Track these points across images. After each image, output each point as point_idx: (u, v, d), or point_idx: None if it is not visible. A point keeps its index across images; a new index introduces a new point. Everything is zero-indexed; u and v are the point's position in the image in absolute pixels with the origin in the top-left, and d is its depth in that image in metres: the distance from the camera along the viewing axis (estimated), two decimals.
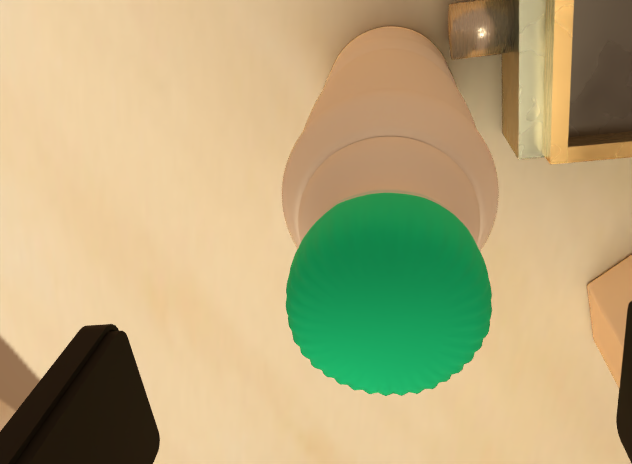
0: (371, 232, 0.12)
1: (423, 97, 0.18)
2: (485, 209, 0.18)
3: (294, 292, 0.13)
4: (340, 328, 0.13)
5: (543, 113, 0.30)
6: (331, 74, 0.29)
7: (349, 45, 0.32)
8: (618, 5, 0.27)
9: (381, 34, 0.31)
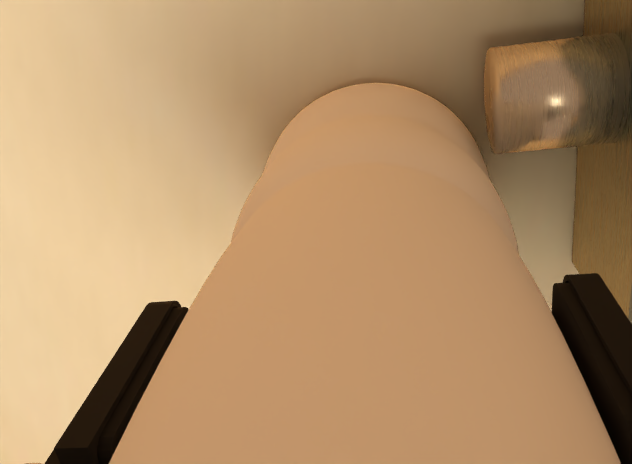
0: None
1: None
2: None
3: None
4: None
5: None
6: (247, 206, 0.14)
7: (297, 122, 0.17)
8: None
9: (356, 107, 0.16)
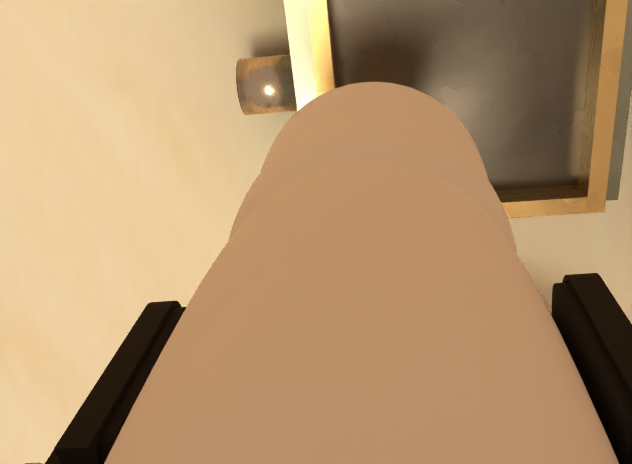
0: None
1: None
2: None
3: None
4: None
5: None
6: (244, 205, 0.14)
7: (294, 121, 0.17)
8: (388, 72, 0.27)
9: (354, 106, 0.16)
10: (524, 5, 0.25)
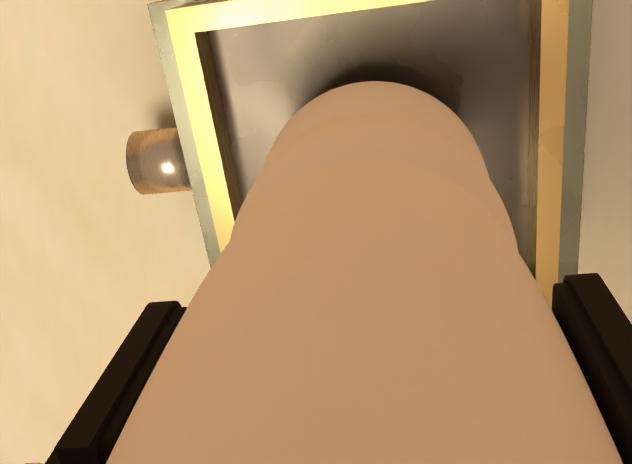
0: None
1: None
2: None
3: None
4: None
5: None
6: (245, 204, 0.13)
7: (295, 120, 0.17)
8: None
9: (355, 105, 0.16)
10: (446, 74, 0.21)
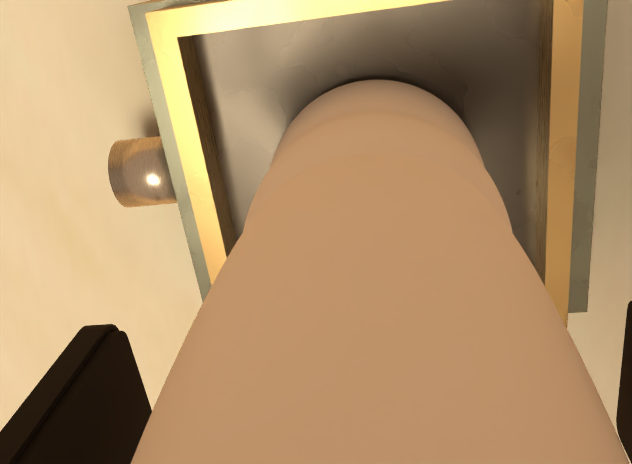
0: None
1: None
2: None
3: None
4: None
5: None
6: (259, 193, 0.14)
7: (303, 117, 0.18)
8: None
9: (360, 102, 0.17)
10: (449, 81, 0.19)
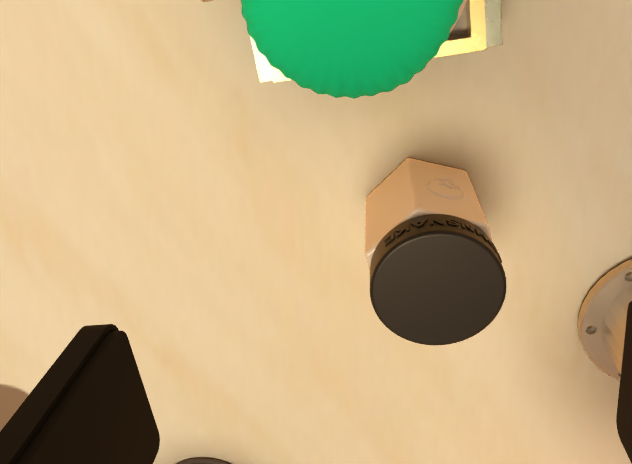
0: None
1: None
2: None
3: None
4: None
5: None
6: None
7: None
8: None
9: None
10: None
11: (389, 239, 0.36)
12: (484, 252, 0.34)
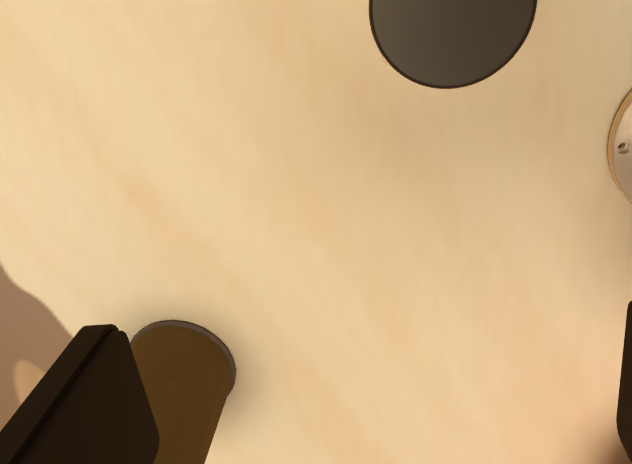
0: None
1: None
2: None
3: None
4: None
5: None
6: None
7: None
8: None
9: None
10: None
11: None
12: None
